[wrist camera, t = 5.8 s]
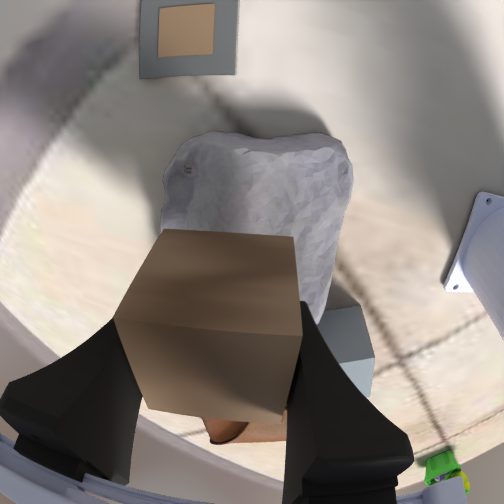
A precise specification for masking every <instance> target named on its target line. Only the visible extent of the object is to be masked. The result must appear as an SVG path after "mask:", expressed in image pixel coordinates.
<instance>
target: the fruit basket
mask: <svg viewBox="0 0 504 504" xmlns="http://www.w3.org/2000/svg"><path fill="white" fill-rule="evenodd" d="M458 476H462V478H463V483H464V488H465V493H466V495H467V494H468V493H469V489H470V484H469V482H468V480H467V476H466V474H465V473H463V472H461V467H460V465H459V464H458V463H457V461H456V460H455V458H454V456H453V454H452V453H451V451H450V450H448V451H446V452H444V453H441V454H439V455H436V456H434V457H432V458H429V459H427V460H426V475H425V480H424V482H425V483H426V484H427V485H428V486H430V485H433V484H435V483H438V482H441V481H445V480H448V479H451V478H454V477H458Z"/></svg>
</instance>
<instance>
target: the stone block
mask: <svg viewBox="0 0 504 504" xmlns="http://www.w3.org/2000/svg"><path fill="white" fill-rule="evenodd" d="M163 184H164V188H165V192H166V199H165V203H164V205H163V208H162V211H161V221H160V234H161V232H162V231H163V229H182V230H199V231H216V232H232V233H247V234H262V235H277V236H291V237H293V238H294V247H295V256H296V266H297V276H298V287H299V297H300V301H305V302H306V303H307V304H308V307H309V309H310V312H311V314H312V316H313V318H314V321H315V323H316V325H317V324H318V323H319V322H320V319H321V316H322V314H323V312H324V309H325V306H326V301H327V297H328V292H329V289H330V285H331V280H332V275H333V270H334V263H335V256H336V249H337V243H338V238H339V233H340V229H341V226H342V223H343V217H344V213H345V210H346V208H347V205H348V203H349V200H350V198H351V191H352V186H353V168H352V164H351V162H350V160H349V158H348V156H347V153H346V149H345V147H344V146H343V144H342V142H341V141H340V140H338V139H335V138H333V137H330V136H327V135H325V134H323V133H306V134H302V135H299V134H296V135H292V136H279V137H273V138H271V139H258V138H254V137H251V136H246V135H243V134H240V133H223V132H219V131H210V132H206V133H205V134H202V135H200V136H196V137H193V138H191V139H189V140H187V141H186V142H185V143H183V144H182V145H181V147H180V148H179V150H178V151H177V153H176V154H175V156H174V157H173V159H172V160H171V162H170V164H169V166H168V167H167V168H166V169H165V172H164V176H163Z"/></svg>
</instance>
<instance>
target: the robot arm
mask: <svg viewBox="0 0 504 504" xmlns="http://www.w3.org/2000/svg"><path fill="white" fill-rule="evenodd" d="M488 198H489V200H488V202H486V201H487V199H488ZM454 285H455V286H454ZM444 289H445V291H446V292H475V294H476V295H477V297H478V299H479V300H480V302H481V303H482V305H483V306H484V308H485V310H486V311H487V313H488V315H489V316H490V318H491V319H492V321H493V323H494V325H495V326H496V328H497V330H498V331H499V333H500V335H501V337H502V339H503V340H504V197H503V196H499V195H495V194H491V193H487V192H480V193H478V195H477V196H476V199H475V203H474V206H473V209H472V212H471V215H470V218H469V221H468V224H467V227H466V230H465V233H464V236H463V238H462V241H461V244H460V246H459V249H458V252H457V254H456V257H455V259H454V262H453V264H452V267H451V269H450V271H449V274H448V276H447V278H446V281H445V283H444ZM300 309H301V320H302V333H303V337H302V341H301V346H300V350H299V354H298V358H297V362H296V367H295V371H294V375H293V379H292V383H291V386H290V390H289V394H288V398H287V402H286V404H287V438H286V459H285V474H284V487H283V499H282V504H467V499H466V493H465V488H464V483H463V478H462V476H458V477H454V478H451V479H448V480H445V481H441V482H438V483H435V484H433V485H430V486H428V487H426V488H425V489H424V490H423V491H419V492H415V493H412V494H407V495H402V496H397V497H396V493H395V487H396V486H398V479H397V476H398V475H399V474H401V473H402V472H403V471H405V470H406V469H407V468H409V467H410V466H411V465H412V463H413V462H414V455H413V450H412V447H411V444H410V441H409V438H408V435H407V434H406V433H405V432H403V431H402V430H401V429H400V428H398V427H397V426H396V425H394V424H393V423H392V422H391V421H390V420H388V419H387V418H386V417H385V416H384V415H383V414H382V413H381V412H380V411H379V410H378V409H376V407H375V406H374V405H373V404H372V403H371V402H370V401H369V400H368V399H367V398H366V397H365V396H364V395H363V394H362V393H361V392H360V390H359V389H358V388H357V387H356V386H355V384H354V383H353V382H352V381H351V379H350V378H349V377H348V375H347V374H346V373H345V371H344V370H343V369H342V367H341V366H340V364H339V363H338V361H337V360H336V358H335V357H334V355H333V354H332V352H331V350H330V349H329V347H328V345H327V343H326V342H325V340H324V338H323V336H322V334H321V333H320V331H319V329H318V327H317V325H316V323H315V321H314V318H313V316H312V314H311V312H310V309H309V307H308V304H307V303H306V302H305V301H300ZM142 397H143V395H142V393H141V391H140V388H139V386H138V384H137V381H136V379H135V376H134V374H133V371H132V369H131V366H130V364H129V361H128V358H127V356H126V353H125V351H124V348H123V345H122V342H121V339H120V337H119V334H118V331H117V328H116V325H115V322H114V319H113V318H112V319H111V320H110V321H109V322H108V323H107V324H106V325H104V326H103V327H102V328H101V329H100V330H99V331H97V332H96V333H95V334H94V335H93V336H92V337H90V338H89V339H88V340H86V341H85V342H84V343H82V344H81V345H80V346H78V347H77V348H76V349H74V350H73V351H71V352H70V353H68V354H66V355H65V356H63V357H62V358H60V359H58V360H57V361H55V362H53V363H52V364H50V365H48V366H46V367H44V368H42V369H40V370H38V371H36V372H34V373H32V374H30V375H27V376H25V377H22V378H19V379H17V380H14V381H12V382H9V384H8V386H7V387H6V389H5V391H4V393H3V395H2V397H1V399H0V416H1V417H2V418H3V419H4V420H5V421H6V422H7V423H8V424H9V425H10V426H11V427H12V428H14V430H16V431H17V432H18V433H19V436H18V438H17V440H16V442H15V441H13V440H12V439H10V438H8V437H6V436H4V435H3V434H2V433H1V432H0V492H1V493H2V494H4V495H5V496H6V497H8V498H9V499H11V500H12V501H14V502H15V503H17V504H109V503H107V502H106V501H104V500H101V499H98V498H96V497H94V496H91V495H89V494H87V493H85V492H84V491H87V492H90V493H92V494H95V495H98V496H101V497H104V498H107V499H110V500H113V501H117V502H119V503H123V504H213V503H206V502H205V503H204V502H198V501H192V500H186V499H180V498H175V497H170V496H165V495H160V494H156V493H151V492H147V491H143V490H139V489H135V488H131V487H127V486H125V485H127V484H128V483H129V476H130V464H131V455H132V447H133V440H134V433H135V428H136V423H137V418H138V413H139V409H140V404H141V400H142Z"/></svg>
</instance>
